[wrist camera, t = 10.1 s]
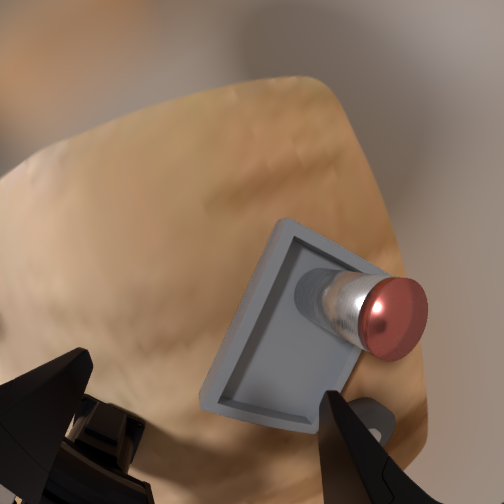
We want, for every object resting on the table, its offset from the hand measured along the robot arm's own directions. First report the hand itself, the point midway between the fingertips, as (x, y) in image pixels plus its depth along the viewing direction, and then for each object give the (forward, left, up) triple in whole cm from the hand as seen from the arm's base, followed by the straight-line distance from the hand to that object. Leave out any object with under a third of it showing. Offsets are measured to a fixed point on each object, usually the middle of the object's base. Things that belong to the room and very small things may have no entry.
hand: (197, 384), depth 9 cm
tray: (+1, -9, -12) cm, 15 cm away
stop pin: (+5, -9, -11) cm, 15 cm away
